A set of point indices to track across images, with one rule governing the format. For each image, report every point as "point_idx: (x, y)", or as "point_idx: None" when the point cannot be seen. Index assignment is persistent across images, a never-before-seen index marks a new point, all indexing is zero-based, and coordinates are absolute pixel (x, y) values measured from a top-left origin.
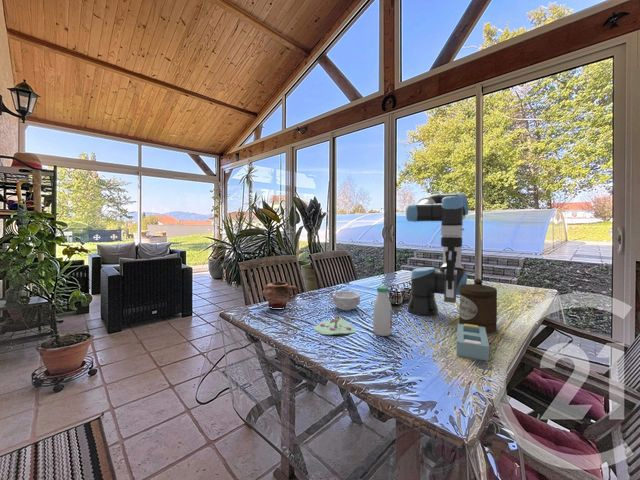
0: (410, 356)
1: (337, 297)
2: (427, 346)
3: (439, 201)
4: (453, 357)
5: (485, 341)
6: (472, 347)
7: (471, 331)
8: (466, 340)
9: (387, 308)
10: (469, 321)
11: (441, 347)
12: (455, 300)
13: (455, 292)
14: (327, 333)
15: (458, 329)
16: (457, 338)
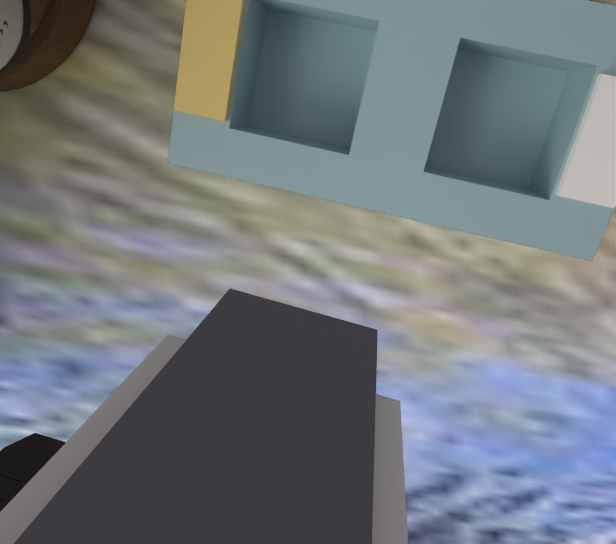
0: (600, 490)
1: None
2: (443, 381)
3: None
4: (591, 261)
5: (567, 20)
6: None
7: (249, 63)
8: (586, 188)
9: None
10: (34, 28)
11: (444, 303)
12: (362, 340)
13: (374, 421)
14: None
15: (314, 187)
16: (525, 242)
